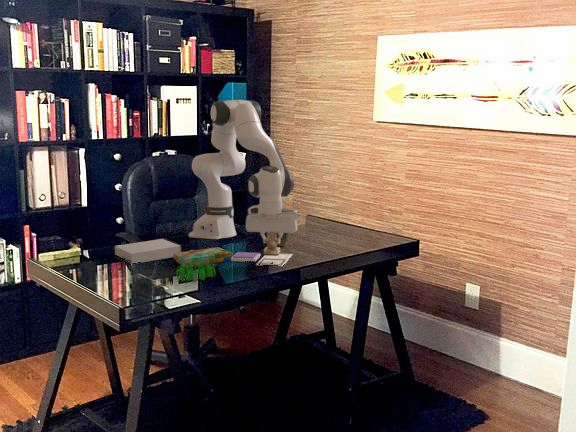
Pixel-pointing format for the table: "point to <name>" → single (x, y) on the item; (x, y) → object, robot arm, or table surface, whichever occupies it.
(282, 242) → the cup
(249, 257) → the ink pad
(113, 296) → the table surface
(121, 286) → the table surface
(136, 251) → the disc drive
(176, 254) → the multicoloured oblong shape
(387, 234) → the table surface
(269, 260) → the form
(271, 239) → the stamp
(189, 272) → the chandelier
